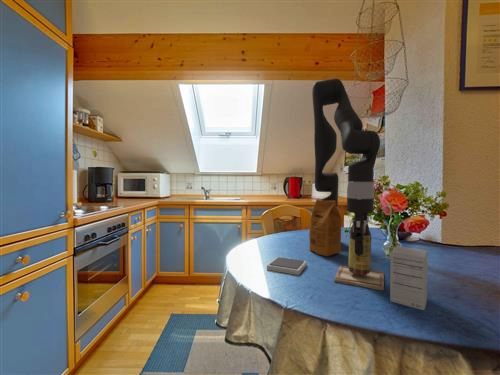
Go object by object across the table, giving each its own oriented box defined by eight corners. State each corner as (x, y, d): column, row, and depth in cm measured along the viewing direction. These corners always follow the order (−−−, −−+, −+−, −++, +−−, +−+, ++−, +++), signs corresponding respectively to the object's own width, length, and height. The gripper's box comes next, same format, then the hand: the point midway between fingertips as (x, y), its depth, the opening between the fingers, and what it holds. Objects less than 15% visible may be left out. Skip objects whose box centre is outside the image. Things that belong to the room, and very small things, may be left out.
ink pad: (277, 261, 95) (277, 256, 95) (306, 265, 90) (306, 260, 90) (266, 269, 86) (266, 264, 86) (298, 275, 81) (298, 269, 81)
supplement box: (394, 291, 69) (395, 245, 69) (427, 299, 64) (428, 250, 64) (388, 301, 63) (389, 251, 63) (424, 311, 59) (425, 257, 58)
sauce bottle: (357, 277, 75) (357, 209, 74) (343, 269, 81) (344, 207, 80) (375, 274, 76) (376, 208, 75) (361, 267, 82) (362, 206, 81)
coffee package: (323, 247, 113) (323, 197, 112) (344, 254, 102) (345, 200, 101) (305, 249, 109) (305, 198, 108) (325, 258, 98) (325, 201, 97)
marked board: (340, 268, 87) (340, 265, 87) (383, 274, 81) (383, 271, 81) (334, 281, 75) (334, 278, 75) (383, 290, 70) (383, 286, 70)
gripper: (349, 194, 86) (349, 244, 86) (344, 198, 73) (343, 255, 73) (374, 195, 82) (373, 246, 83) (373, 198, 69) (372, 259, 70)
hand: (359, 250), depth 78 cm, fingers closed on sauce bottle, 6 cm apart
